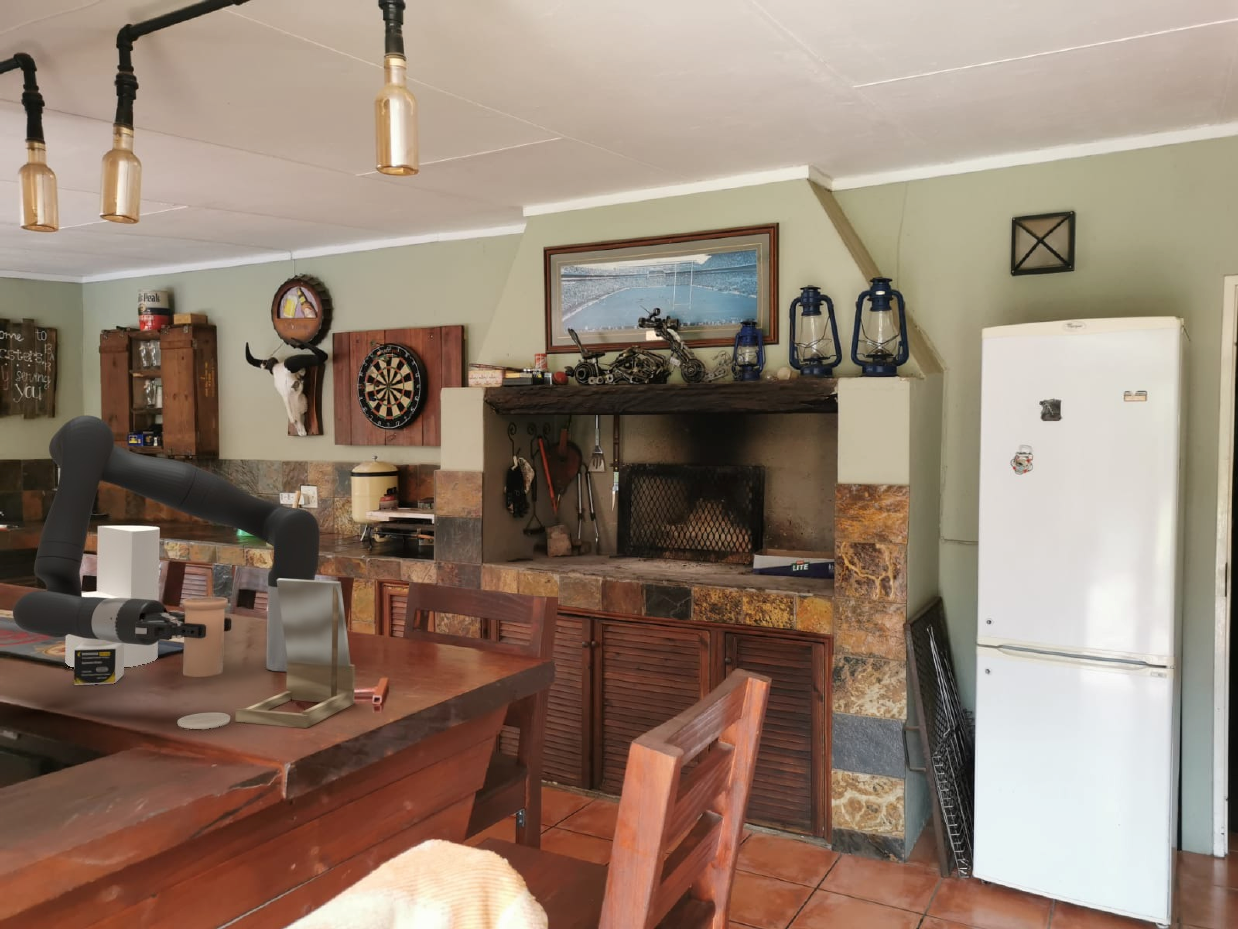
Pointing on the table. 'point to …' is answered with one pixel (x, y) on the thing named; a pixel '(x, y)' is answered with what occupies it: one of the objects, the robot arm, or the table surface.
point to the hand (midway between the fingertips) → (217, 628)
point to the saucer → (204, 720)
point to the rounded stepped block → (125, 579)
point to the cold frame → (310, 655)
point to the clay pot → (206, 651)
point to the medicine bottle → (98, 662)
